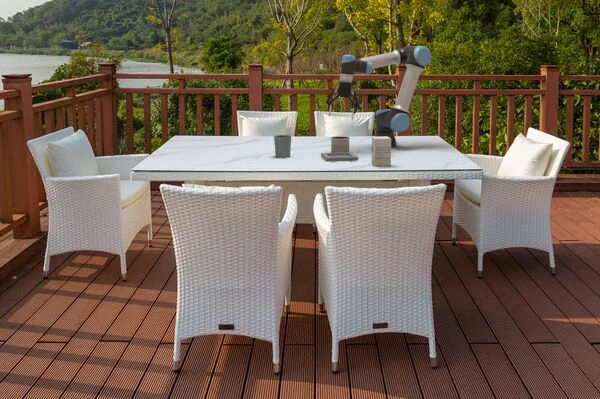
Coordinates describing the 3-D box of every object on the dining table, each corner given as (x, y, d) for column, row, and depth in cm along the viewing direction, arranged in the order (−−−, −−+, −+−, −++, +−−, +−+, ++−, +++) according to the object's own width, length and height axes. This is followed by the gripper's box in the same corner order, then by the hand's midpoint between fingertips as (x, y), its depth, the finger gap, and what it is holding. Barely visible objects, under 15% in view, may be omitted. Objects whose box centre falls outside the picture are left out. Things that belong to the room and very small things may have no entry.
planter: (347, 155, 422) (348, 138, 420) (329, 154, 424) (329, 138, 422) (350, 152, 432) (350, 136, 430) (332, 151, 435) (332, 136, 433)
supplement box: (371, 163, 392) (371, 136, 388) (387, 163, 392) (388, 136, 389) (374, 166, 383) (374, 138, 380) (390, 166, 383) (391, 138, 380)
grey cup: (278, 158, 410) (278, 137, 408) (271, 156, 419) (270, 135, 417) (294, 157, 415) (294, 136, 412) (286, 154, 424) (286, 134, 421)
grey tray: (351, 155, 419) (351, 152, 419) (359, 161, 399) (359, 157, 399) (321, 156, 417) (321, 153, 417) (327, 162, 397) (327, 158, 397)
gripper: (324, 78, 422) (319, 114, 426) (366, 84, 420) (361, 120, 423) (325, 79, 430) (320, 114, 433) (366, 84, 427) (362, 120, 430)
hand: (340, 117), depth 428 cm, fingers open, 13 cm apart
